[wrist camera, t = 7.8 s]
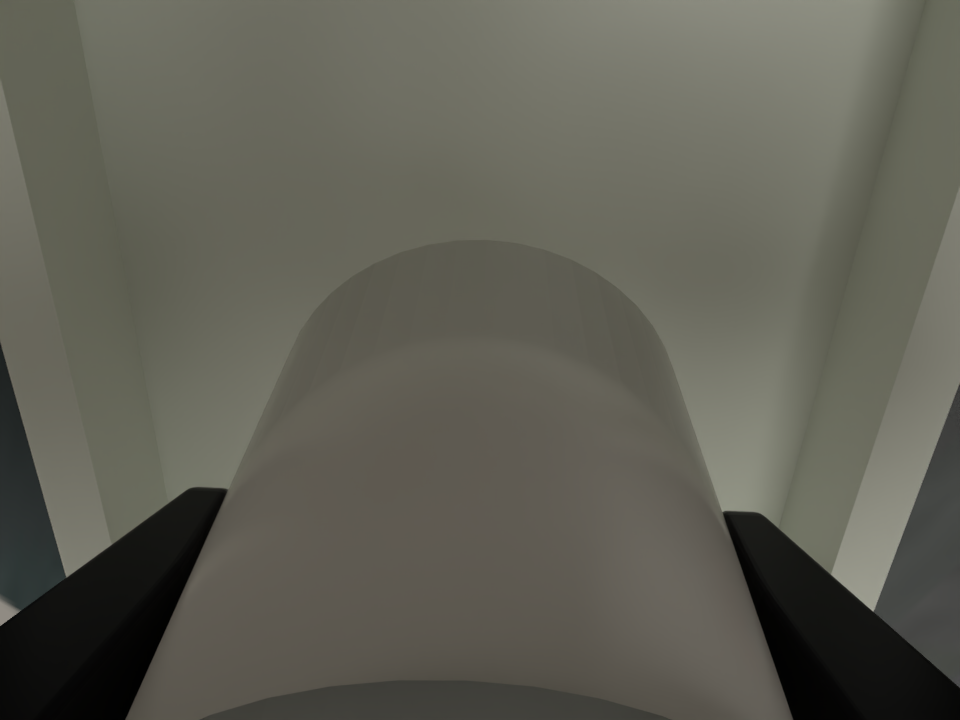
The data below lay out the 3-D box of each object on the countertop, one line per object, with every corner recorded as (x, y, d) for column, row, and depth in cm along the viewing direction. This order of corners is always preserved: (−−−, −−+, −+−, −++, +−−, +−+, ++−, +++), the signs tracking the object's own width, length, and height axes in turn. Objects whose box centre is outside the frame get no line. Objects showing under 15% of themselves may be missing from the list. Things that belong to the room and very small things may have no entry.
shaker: (722, 241, 9) (1124, 924, 3) (656, 585, 12) (811, 1319, 6) (253, 221, 9) (-210, 862, 3) (288, 568, 12) (66, 1285, 6)
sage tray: (1024, -219, 12) (1197, -249, 9) (793, 559, 20) (846, 684, 17) (-12, -263, 12) (-183, -309, 9) (151, 530, 20) (86, 649, 17)
